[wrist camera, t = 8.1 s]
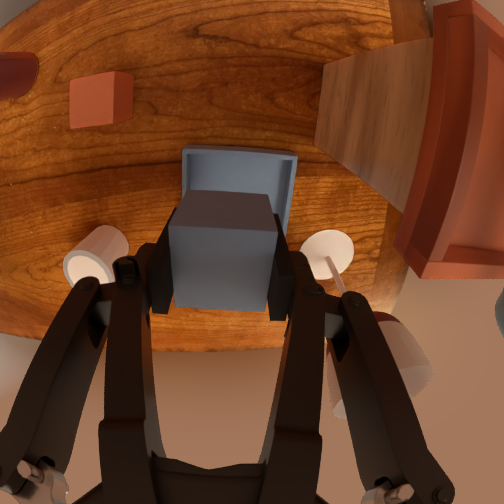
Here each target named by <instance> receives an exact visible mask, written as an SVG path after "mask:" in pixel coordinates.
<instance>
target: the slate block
mask: <svg viewBox="0 0 504 504" xmlns="http://www.w3.org/2000/svg"><path fill="white" fill-rule="evenodd" d="M168 232H169V247H170V254H171V267H172V278H173V289H174V292H173V294H174V303H175V306H176V307H187V308H200V309H215V310H233V311H254V312H265V308H266V302H267V294H268V289H269V283H270V277H271V271H272V265H273V259H274V253H275V249H276V243H277V237H278V230H277V226H276V222H275V219H274V215H273V211H272V207H271V204H270V200H269V196H268V194H257V193H244V192H230V191H213V190H192V189H187V190H186V192H185V194H184V196H183V198H182V200H181V202H180V204H179V205H178V207H177V209H176V211H175V213H174V215H173V217H172V219H171V221H170V223H169V225H168Z"/></svg>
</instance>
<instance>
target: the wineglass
mask: <svg viewBox="0 0 504 504" xmlns="http://www.w3.org/2000/svg"><path fill="white" fill-rule="evenodd" d="M299 252H302V253H303V254H304V255H305V256H306V257H307V259H308V262H309V264H310V267H311V270H312V272H313V275H314V278H315V279H329V278H332V277H333V278H334V280H335V282H336V284H337V287H338V289H339V291H340V293H341V296H342V294H343V293H345V292H347V290H346V288H345V286H344V283H343V281H342V279H341V277H340V275H339V274H340V273H342V272H343V271H344V270H345V269H346V268H347V267H348V266H349V264H350V262H351V261H352V258H353V254H354V245H353V243H352V241H351V239H350V237H349V236H347V235H346V234H345V233H344V232H341V231H338V230H324V231H320V232H317V233H315V234H314V235H312V236H310V237H309V238H308V239H307V240H306V241H305V242H304V243H303V245H302V247H301V249H300V251H299ZM373 313H374V316H375V318H376V320H377V322H378V324H379V326H380V328H381V330H382V333H383V335H384V337H385V339H386V341H387V344H388V346H389V348H390V350H391V353H392V355H393V357H394V360H395V362H396V364H397V367H398V369H399V371H400V374H401V376H402V379H403V381H404V384H405V386H406V389H407V391H408V394H409V397H410V399H411V398H412V397H414V396H415V395H416V394H418V393H419V392H420V391H421V390H422V389H424V387H425V386H426V385H427V384H428V383H429V382H430V381H431V379H432V377H433V375H434V369H433V367H432V365H431V363H430V361H429V360H428V358H427V356H426V355H425V353H424V351H423V350H422V348H421V347H420V345H419V344H418V343H417V341H416V340H415V338H414V337H413V336H412V334H411V333H410V332H409V331H408V330H407V328H406V327H405V326H404V325H403V324H402V323H401V322H400V321H399V320H398V319H396V318H395V317H394V316H392V315H390V314H387V313H384V312H378V311H373ZM326 351H327V379H328V386H329V394H330V401H331V406H332V411H333V414H334V415H335V416H336V417H338V418H340V419H347V417H346V412H345V408H344V404H343V400H342V396H341V392H340V388H339V384H338V380H337V376H336V373H335V369H334V365H333V361H332V358H331V354H330V350H329V347H328V343H327V350H326Z"/></svg>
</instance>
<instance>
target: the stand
mask: <svg viewBox="0 0 504 504" xmlns="http://www.w3.org/2000/svg"><path fill="white" fill-rule="evenodd" d="M433 22H434V23H433V29H434V30H433V38H426V39H420V40H414V41H409V42H404V43H399V44H394V45H390V46H386V47H382V48H378V49H374V50H370V51H366V52H363V53H359V54H356V55H352V56H349V57H346V58H343V59H340V60H337V61H334V62H331V63H328V64H325V65H324V69H323V78H322V86H321V94H320V102H319V110H318V117H317V124H316V132H315V138H314V146H316V147H317V148H319V149H320V150H322V151H323V152H325V153H326V154H328V155H329V156H330V157H332V158H333V159H335V160H336V161H337V162H339V163H340V164H342V165H343V166H344V167H346V168H347V169H348V170H350V171H351V172H352V173H354V174H355V175H356V176H357V177H359V178H360V179H361V180H363V181H364V182H365V183H366V184H368V185H369V186H370V187H371V188H373V189H374V190H375V191H376V192H378V193H379V194H380V195H381V196H382V197H384V198H385V199H386V200H387V201H388V202H390V203H391V204H392V205H393V206H394V207H395V208H397V209H398V210H399V211H400V212H401V213H402V214H403V215H402V219H401V222H400V225H399V228H398V231H397V234H396V237H395V240H394V242H393V246H394V247H395V248H396V249H397V251H398V252H399V253H400V254H401V256H402V257H403V258H404V259H405V261H406V262H407V263H408V264H409V266H410V267H411V268H412V269H413V270H414V272H415V273H416V275H417V276H418V277H419V278H420V279H503V278H504V25H503V24H502V23H501V22H499V21H498V20H497V19H496V18H495V17H494V16H493V15H492V14H491V13H489V12H488V11H487V10H486V9H484V8H483V7H482V6H481V5H480V4H478V3H477V2H476V1H475V0H459V1H454V2H450V3H445V4H441V5H437V6H433Z"/></svg>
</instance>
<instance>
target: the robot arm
mask: <svg viewBox="0 0 504 504" xmlns="http://www.w3.org/2000/svg"><path fill="white" fill-rule="evenodd" d="M176 209H177V207H175V208H174V210H173V212H172V214H171V216H170V218H169V220H168V222H167V223H166V225H165V227H164V229H163V231H162V233H161V235H160V237H159V239H158V241H157V243H145V244H144V245H142V246H141V247H140V248H139V250H138V251H137V254H136V255H135V257H134V256H123V257H120V258H118V259H116V260H115V261H114V262H113V264H112V268H113V272H114V277H115V282H111V283H104V284H100V282H99V279H98V278H96V277H93V276H87V277H83V278H81V279H80V280H78V281H77V282H76V283H75V285H74V287H73V288H72V290H71V291H70V293H69V294H68V296H67V298H66V299H65V301H64V303H63V304H62V306H61V308H60V309H59V311H58V313H57V314H56V316H55V318H54V320H53V321H52V323H51V325H50V327H49V329H48V330H47V332H46V334H45V336H44V338H43V340H42V342H41V344H40V346H39V348H38V350H37V352H36V354H35V356H34V358H33V360H32V362H31V364H30V366H29V368H28V371H27V373H26V375H25V377H24V380H23V382H22V384H21V387H20V389H19V392H18V394H17V396H16V399H15V401H14V404H13V407H12V410H11V412H10V415H9V418H8V421H7V424H6V426H5V427H4V428H3V429H2V431H1V432H0V489H1V490H3V491H5V492H8V493H9V494H11V495H12V496H13V497H14V498H15V499H16V500H17V501H18V502H19V503H20V504H66V501H65V494H66V493H68V491H69V486H68V484H67V482H66V479H65V477H64V476H63V475H64V473H65V471H66V468H67V466H68V464H69V460H70V457H71V454H72V450H73V445H74V441H75V437H76V433H77V428H78V425H79V421H80V418H81V414H82V410H83V406H84V403H85V400H86V397H87V393H88V391H89V387H90V384H91V381H92V378H93V375H94V372H95V369H96V366H97V364H98V361H99V358H100V355H101V352H102V350H103V347H104V344H105V342H106V339H107V349H106V363H105V386H104V388H105V389H104V391H105V392H104V419H103V420H102V421H100V423H99V428H98V437H99V455H100V467H101V476H102V482H101V483H99V484H98V485H97V486H95V487H94V488H93V489H91V490H90V491H89V492H87V493H86V494H85V495H83V496H82V497H81V498H79V499H78V500H76V501H75V502H74V503H72V504H328V502H326V501H325V500H324V499H323V498H321V497H320V496H319V495H318V494H317V493H316V490H317V483H318V476H319V468H320V461H321V452H322V436H321V435H320V434H319V421H320V410H321V397H322V384H323V383H322V382H323V366H324V365H323V364H324V340H325V337H326V339H327V343H328V347H329V350H330V354H331V358H332V361H333V365H334V369H335V373H336V376H337V380H338V384H339V388H340V392H341V396H342V400H343V404H344V408H345V412H346V417H347V420H348V425H349V430H350V434H351V439H352V443H353V448H354V452H355V457H356V462H357V467H358V471H359V475H360V479H361V481H362V484H363V486H364V488H365V490H366V493H365V494H364V496H363V498H362V500H361V504H451V503H452V502H453V499H454V496H455V488H454V486H453V484H452V482H451V481H450V479H449V478H448V476H447V475H446V474H445V472H444V471H443V469H442V468H441V467H440V465H439V464H438V463H437V461H436V460H435V458H434V457H433V456H432V454H431V453H430V452H429V450H428V449H427V445H426V442H425V439H424V436H423V433H422V430H421V427H420V424H419V421H418V418H417V416H416V413H415V410H414V408H413V405H412V402H411V399H410V397H409V394H408V391H407V389H406V386H405V384H404V381H403V379H402V376H401V374H400V371H399V369H398V367H397V364H396V362H395V360H394V357H393V355H392V353H391V350H390V348H389V346H388V344H387V341H386V339H385V337H384V335H383V333H382V330H381V328H380V326H379V324H378V322H377V320H376V318H375V316H374V313H373V311H372V309H371V307H370V305H369V303H368V301H367V300H366V298H365V297H364V296H363V295H361V294H360V293H357V292H354V291H347V292H345V293H343V294H342V296H341V298H340V297H336V296H332V295H329V294H326V293H325V290H324V288H323V287H322V286H321V285H320V284H318V283H316V281H315V278H314V275H313V272H312V270H311V267H310V264H309V262H308V259H307V257H306V256H305V255H304V254H303V253H302V252H299V251H289V249H288V246H287V243H286V239H285V236H284V232H283V229H282V226H281V222H280V219H279V216H278V214H276V213H273V215H274V219H275V222H276V226H277V230H278V237H277V243H276V249H275V253H274V259H273V265H272V271H271V277H270V283H269V289H268V294H267V300H268V308H269V316H270V321H285V320H286V316H287V314H288V319H289V320H288V324H287V327H286V331H285V335H284V337H285V340H284V345H283V351H282V357H281V362H280V367H279V373H278V378H277V383H276V388H275V393H274V398H273V403H272V408H271V412H270V417H269V422H268V426H267V431H266V435H265V439H264V444H263V448H262V452H261V455H260V458H259V461H258V464H237V465H232V466H227V467H222V468H216V469H209V470H208V469H203V468H200V467H197V466H194V465H191V464H188V463H185V462H182V461H179V460H177V459H169V458H166V454H165V451H164V448H163V444H162V440H161V434H160V427H159V421H158V413H157V406H156V396H155V387H154V376H153V364H152V348H151V326H150V315H149V310H150V307H152V312H153V313H158V314H168V310H169V307H170V303H171V299H172V296H173V292H174V289H173V278H172V267H171V254H170V247H169V232H168V225H169V223H170V221H171V219H172V217H173V215H174V213H175V211H176ZM495 316H496V320H497V324H498V326H499V329H500V331H501V333H502V335H503V337H504V289H503V291H502V293H501V295H500V296H499V298H498V300H497V302H496V305H495ZM107 337H108V338H107Z"/></svg>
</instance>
